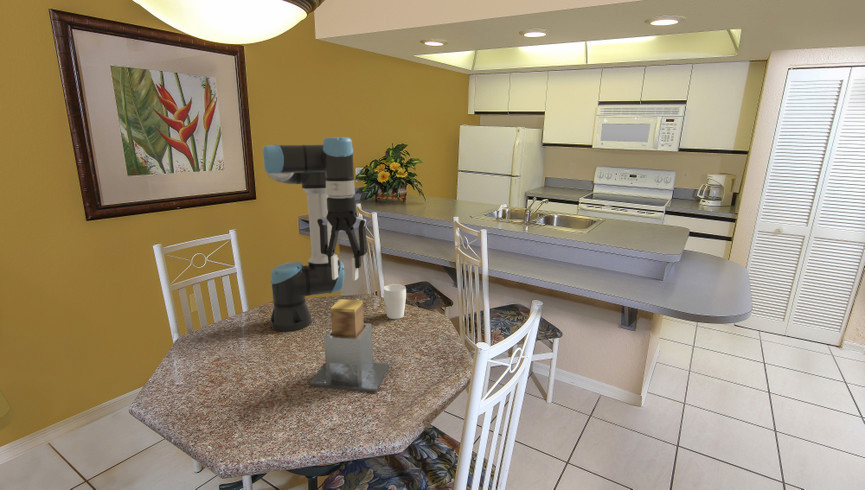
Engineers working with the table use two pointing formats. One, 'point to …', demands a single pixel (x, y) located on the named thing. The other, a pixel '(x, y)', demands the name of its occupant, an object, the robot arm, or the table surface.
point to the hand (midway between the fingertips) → (345, 278)
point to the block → (347, 318)
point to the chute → (350, 363)
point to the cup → (395, 300)
